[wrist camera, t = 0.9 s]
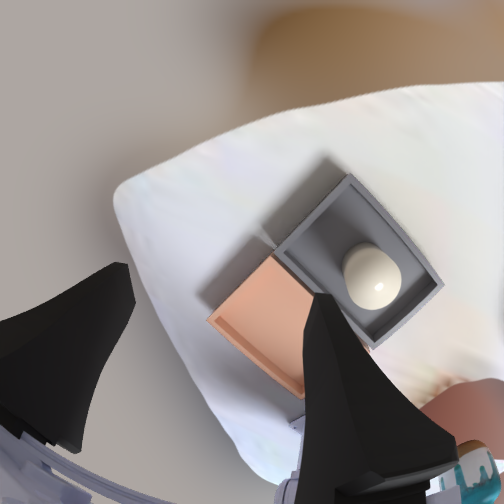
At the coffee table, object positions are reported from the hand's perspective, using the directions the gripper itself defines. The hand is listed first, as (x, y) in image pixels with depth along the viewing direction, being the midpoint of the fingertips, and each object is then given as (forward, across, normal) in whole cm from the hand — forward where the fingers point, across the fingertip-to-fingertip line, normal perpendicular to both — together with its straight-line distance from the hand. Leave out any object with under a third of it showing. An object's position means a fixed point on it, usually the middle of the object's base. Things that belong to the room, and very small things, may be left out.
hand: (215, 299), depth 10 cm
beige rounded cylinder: (+13, -11, +6) cm, 18 cm away
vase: (+2, -42, +34) cm, 54 cm away
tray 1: (+13, -5, +14) cm, 20 cm away
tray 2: (+14, -11, +6) cm, 19 cm away
